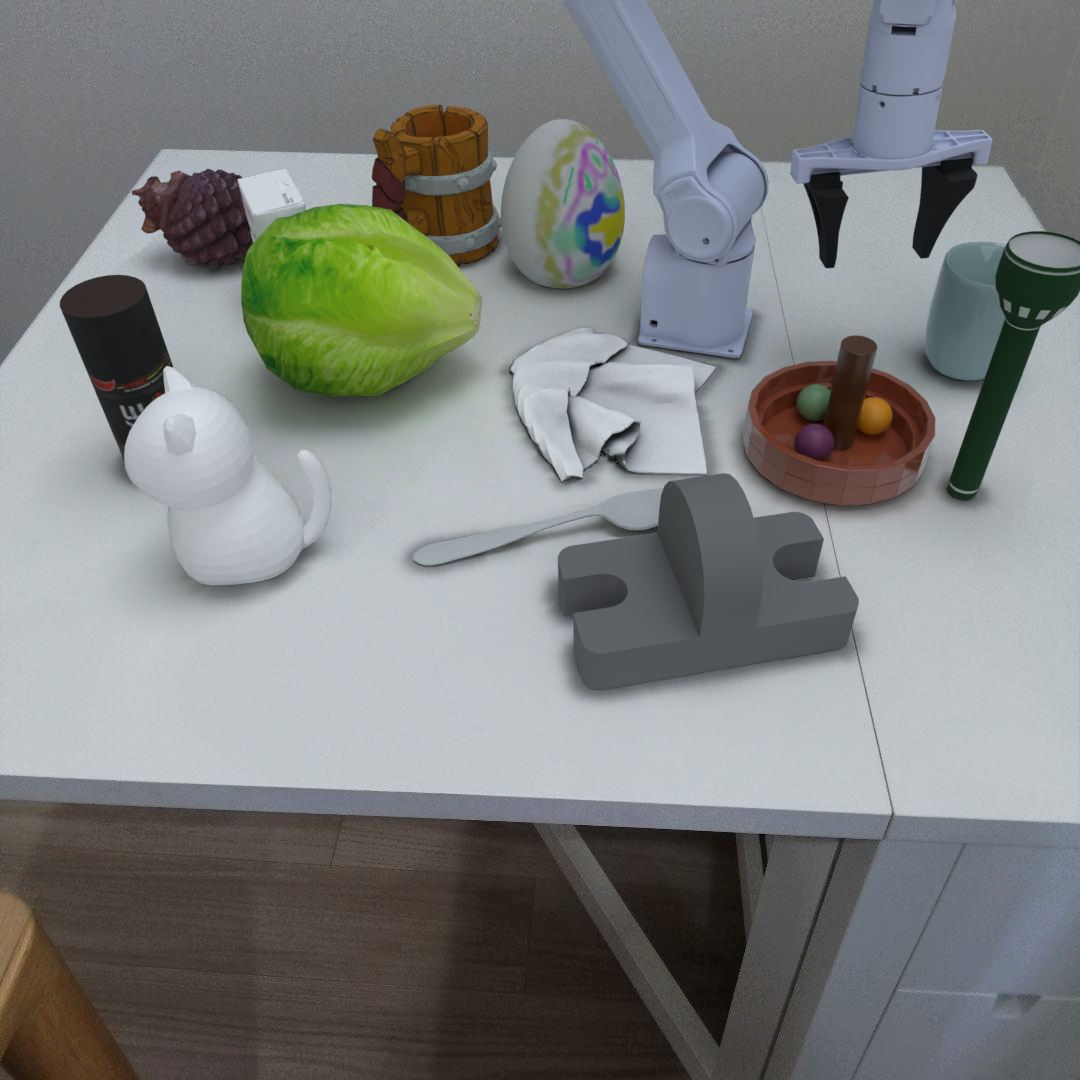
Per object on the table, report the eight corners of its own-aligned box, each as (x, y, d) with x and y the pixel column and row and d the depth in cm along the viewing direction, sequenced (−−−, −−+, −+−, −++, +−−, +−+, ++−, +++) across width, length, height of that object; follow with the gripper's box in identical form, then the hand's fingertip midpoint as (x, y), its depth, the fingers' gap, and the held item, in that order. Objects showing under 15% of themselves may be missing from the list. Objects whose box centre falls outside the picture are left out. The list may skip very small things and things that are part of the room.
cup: (1013, 397, 83) (1053, 291, 76) (917, 388, 84) (948, 284, 77) (1001, 346, 88) (1037, 244, 81) (911, 339, 90) (940, 237, 83)
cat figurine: (170, 532, 74) (103, 364, 63) (336, 499, 76) (297, 332, 65) (170, 618, 67) (95, 448, 57) (351, 580, 69) (311, 409, 59)
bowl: (730, 492, 75) (736, 452, 72) (756, 389, 85) (762, 350, 82) (920, 525, 72) (933, 484, 69) (924, 414, 81) (937, 374, 79)
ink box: (262, 288, 99) (234, 175, 91) (310, 278, 101) (286, 165, 92) (279, 329, 94) (251, 212, 85) (330, 318, 95) (307, 201, 87)
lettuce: (469, 450, 83) (471, 306, 72) (232, 430, 83) (196, 282, 71) (485, 326, 94) (490, 182, 82) (275, 307, 93) (250, 160, 82)
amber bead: (847, 421, 77) (842, 411, 80) (873, 447, 78) (867, 436, 80) (878, 394, 76) (871, 385, 79) (904, 421, 76) (896, 410, 79)
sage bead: (782, 404, 80) (806, 375, 78) (799, 405, 82) (823, 377, 81) (807, 428, 79) (831, 400, 77) (824, 428, 81) (848, 401, 79)
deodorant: (135, 491, 77) (66, 326, 67) (121, 450, 81) (53, 287, 70) (209, 467, 79) (153, 303, 68) (192, 428, 83) (137, 267, 72)
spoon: (692, 527, 72) (694, 511, 71) (417, 580, 69) (414, 563, 68) (674, 491, 75) (675, 475, 74) (409, 540, 72) (406, 524, 71)
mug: (521, 233, 106) (515, 90, 96) (430, 301, 97) (412, 150, 86) (442, 211, 111) (427, 72, 100) (347, 274, 101) (320, 127, 91)
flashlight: (1007, 488, 75) (1105, 245, 61) (980, 523, 72) (1077, 278, 58) (943, 461, 77) (1023, 222, 63) (915, 495, 74) (992, 253, 60)
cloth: (571, 318, 94) (570, 295, 92) (780, 391, 84) (785, 368, 83) (434, 427, 82) (431, 403, 80) (660, 526, 73) (662, 502, 71)
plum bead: (784, 451, 75) (791, 419, 77) (802, 471, 77) (808, 440, 78) (819, 446, 73) (826, 413, 75) (837, 467, 75) (843, 434, 76)
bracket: (853, 646, 64) (890, 526, 56) (585, 692, 62) (586, 574, 54) (799, 546, 71) (825, 427, 63) (555, 584, 69) (552, 466, 61)
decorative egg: (571, 313, 94) (570, 160, 84) (479, 274, 100) (468, 126, 90) (646, 264, 101) (654, 116, 90) (555, 230, 107) (553, 87, 96)
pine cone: (304, 217, 110) (314, 159, 101) (305, 294, 108) (316, 242, 99) (135, 196, 105) (130, 133, 96) (132, 278, 102) (126, 220, 93)
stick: (814, 442, 78) (834, 346, 72) (829, 426, 80) (851, 331, 73) (843, 455, 77) (867, 358, 71) (859, 438, 78) (883, 342, 72)
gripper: (980, 55, 73) (944, 227, 83) (787, 75, 74) (773, 244, 83) (1019, 85, 68) (977, 265, 77) (812, 107, 68) (794, 284, 77)
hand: (873, 257), depth 80 cm, fingers open, 7 cm apart
